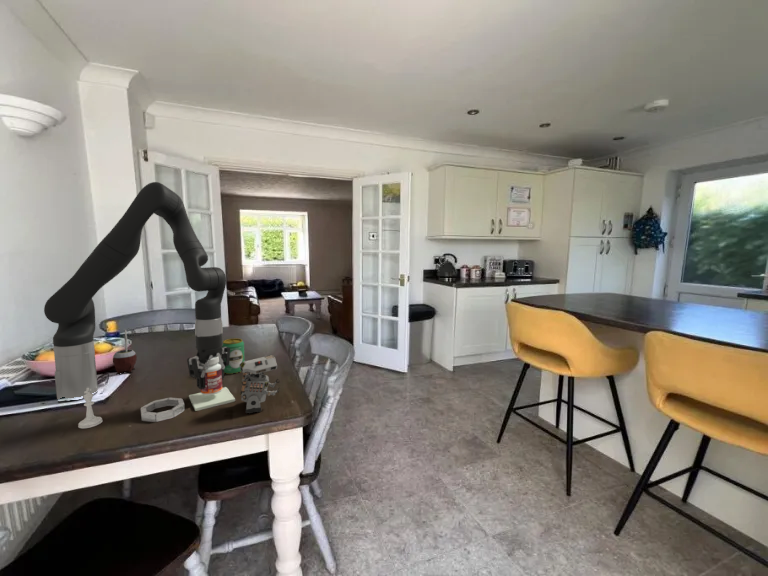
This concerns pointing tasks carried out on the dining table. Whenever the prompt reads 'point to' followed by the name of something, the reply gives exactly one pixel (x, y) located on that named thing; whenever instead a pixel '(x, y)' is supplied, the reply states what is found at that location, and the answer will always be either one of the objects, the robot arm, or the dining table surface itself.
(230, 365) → the beverage can
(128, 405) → the dining table surface
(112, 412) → the dining table surface
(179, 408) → the steel collar
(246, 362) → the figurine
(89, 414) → the chess piece
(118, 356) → the mate gourd
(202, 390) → the pill bottle
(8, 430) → the dining table surface
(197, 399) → the sage pad
